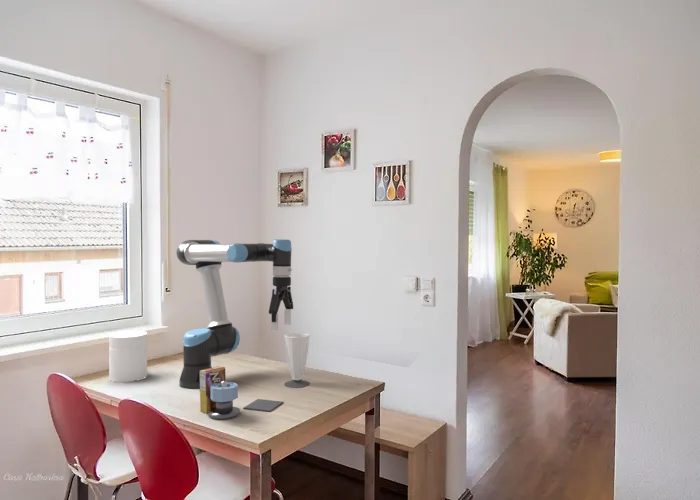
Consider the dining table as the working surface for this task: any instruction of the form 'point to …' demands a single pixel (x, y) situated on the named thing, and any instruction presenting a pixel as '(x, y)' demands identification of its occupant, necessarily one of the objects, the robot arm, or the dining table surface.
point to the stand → (224, 409)
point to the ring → (224, 392)
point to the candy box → (206, 380)
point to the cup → (297, 358)
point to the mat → (263, 405)
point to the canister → (127, 356)
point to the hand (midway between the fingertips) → (281, 327)
